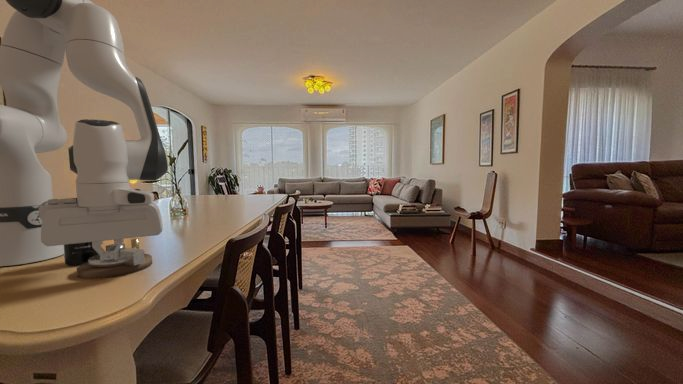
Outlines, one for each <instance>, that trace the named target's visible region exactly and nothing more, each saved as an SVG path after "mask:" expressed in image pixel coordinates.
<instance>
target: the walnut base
mask: <svg viewBox="0 0 683 384" xmlns="http://www.w3.org/2000/svg"><path fill="white" fill-rule="evenodd" d="M130 241H131V242H130V243H131V248H136V249H140V237H135V238H130ZM144 260H145V262H144V263H141V264H138V265H135V266H133V265H127V264H123V265H118V266H111V267H90V266H89V264H88V262H86V263H84V264H82V265H80V266H77V268H76V277H78V278H79V279H83V280H102V279H111V278H116V277H122V276H126V275H129V274H133V273H137V272H140V271H143V270H144V269H147V268H149V267H151V265H152V264H153V256H152V254H149V253H144Z"/></svg>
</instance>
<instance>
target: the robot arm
mask: <svg viewBox="0 0 683 384" xmlns="http://www.w3.org/2000/svg"><path fill="white" fill-rule="evenodd" d="M5 2H6V3H7V5H9V6H10V7H12V8H13V9H14V10H15V12H14V13H12V16H11V17H10V19H9V21H8V23H7V24H6V27H5V28H4V32H3V36H2V39H1V40H0V42H1V43H0V88H2V91H3V93H4V94H3V95H4V98H5V104H6V105H4V104H0V267H7V266H9V267H10V266H16V265H25V264H31V263H36V262H40V261H45V260H46V261H47V260H49V259H53V258H57V257H60V256H62V255H63V256H64V245H66V244H76V243H86V242H92V247H93V248H94V249H95V251H96V252H97V253H98V254H100V261H101V262H104V261H112V260H118V259H119V253H118V251H119V249H120V248H121V246H122V244H123V243H124V242H125V241H124V240H125V239H134V238H143V237H152V236H159V235H160V234H161V233H163V231H164V229H163V227H164V226H163V220H162V214H161V210H160V208H159V206H158V205H157V204H156V203H154V201H155V194H154V193H153V192H151V191H148V190H143V189H140V188H133V187H131V186H130V180H131V181H132V180H135V181H136V180H139V181H149V182H151V181H152V182H153V181H154V182H155V181H157V180H159V179H160V178H162V177H164V175H166V174H167V172H168V170H169V158H168V154H167V150H166V149H165V147H164V144H163V141H162V139H161V136H160V133H159V129H158V125H157V122H156V118H155V114H154V111H153V108H152V105H151V100H150V99H149V96H148V92H147V90H146V87H145V85H144V83H143V81H142V80H141V78H139V77H137V76H135V75H134V74H133V73H132V71H131V70H130V68H129V67H128V65H127V62H126V53H125V46H124V40H123V35H122V32H121V29H120V26H119V22H118V21H117V19H116V17H115V16H114V15H113V13H111V12H110V11H109V10H107V9H105V8H104V7H103V6H101V5H97V4H96V3H94V2H93V1H92V0H5ZM65 56H66V58H65ZM65 59H66V62H67V66H68V68H69V71H70V72H71V74H72V75H73V76H74V77H75V78H76V79H77V80H78V81H79V82H80V83H82V84H83V85H85V86H86V87H87V88H90V89H92V90H93V91H95V92H97V93H100V94H103V95H105V96H108V97H111V98H113V99H116V100H118V101H119V102H121V103H123V104H125V105H126V106H128V107H129V109H131V111H132V112H133V115H134V118H135V121H136V124H137V127H138V128H137V129H138V132H139V135H140V138H139V139H137V140H134V139H133V140H132V139H131V140H130V139H126V138H125V134H124V131H123V127H122V125H121V123H118V122H117V121H112V120H107V119H106V120H103V119H88V118H87V119H86V118H85V119H80V120H77V121H75V123H74V127H73V128H74V129H73V137H72V138H73V140H72V144H71V146H69V147H68V159H69V170H70V171H71V172H72V173H75V174H76V179H75V190H76V197H69V198H68V197H67V198H61V199H60V198H54V191H53V180H52V175H51V174H50V172H48V170H46V168H44V167H43V165H42V164H41V162H40V160H39V158H38V155H37V154H43V153H49V152H53V151H56V150H57V151H58V150H60V149H61V148H62V147H63V146H64V145H65V144H66V142H67V139H68V135H67V130H66V128H65V127H64V126H63V124H62V123H61V122H62V121H61V119H60V113H59V106H58V92H59V86H60V82H61V81H60V80H61V75H62V70H63V65H64V60H65ZM104 241H113V244H115V245H116V244H118V245H117V247H116V248H115V250H114V251H107V252H106V249H104V248H103V247H102V245H103V244H104ZM124 244H125V243H124Z"/></svg>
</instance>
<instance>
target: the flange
mask: <svg viewBox="0 0 683 384" xmlns="http://www.w3.org/2000/svg"><path fill="white" fill-rule="evenodd" d="M117 245H118V244H116V245H115V244H114V243H112V244H108V245H106V246H105V252H107V251H114V250H115V248H116V247H117ZM118 253H119V259H118V260H112V261H104V262H101V261H100V254H98V255H95V256H92V257H90V258H89V259H88V264H89V266H90V267H111V266H118V265H123V264H127V265H133V266H135V265H138V264H141V263H144V262H145V260H144V254H145V250H144V249H142V248H139V249H136V248H132V247H128V248H126V244H125V243H123V244H122V246H121V248H120V249H119V251H118Z"/></svg>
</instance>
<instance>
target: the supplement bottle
mask: <svg viewBox="0 0 683 384" xmlns="http://www.w3.org/2000/svg"><path fill="white" fill-rule="evenodd" d="M95 255H98V253H97V252H96V251H95V249H94V248H93V247H92V242H86V243H76V244H66V245H64V254H63V256H64V264H65V266H68V267H76V266H77V267H78V266H80V265H82V264H84V263H86V262H88V259H89V258H90V257H92V256H95Z"/></svg>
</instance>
